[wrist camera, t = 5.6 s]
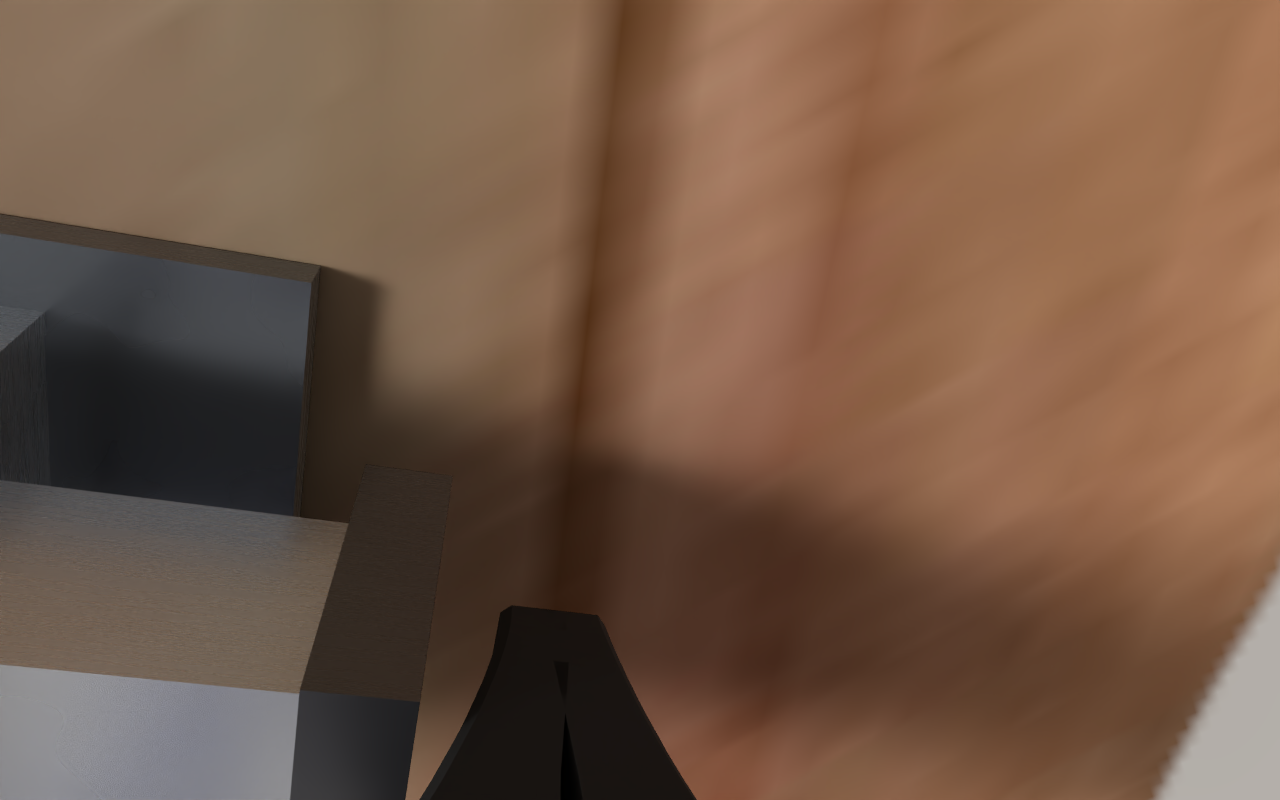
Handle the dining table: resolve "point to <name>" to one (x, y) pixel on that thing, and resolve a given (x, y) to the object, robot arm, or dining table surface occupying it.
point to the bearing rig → (154, 367)
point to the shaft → (214, 644)
